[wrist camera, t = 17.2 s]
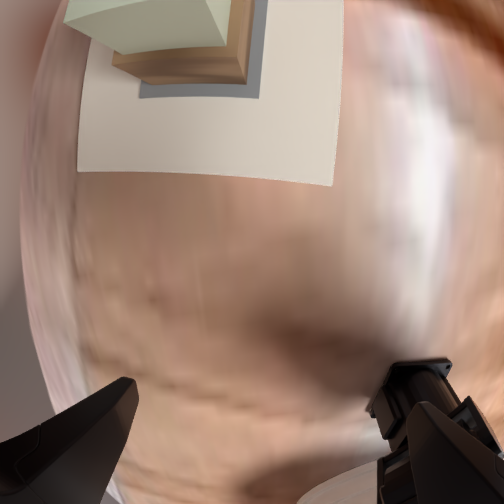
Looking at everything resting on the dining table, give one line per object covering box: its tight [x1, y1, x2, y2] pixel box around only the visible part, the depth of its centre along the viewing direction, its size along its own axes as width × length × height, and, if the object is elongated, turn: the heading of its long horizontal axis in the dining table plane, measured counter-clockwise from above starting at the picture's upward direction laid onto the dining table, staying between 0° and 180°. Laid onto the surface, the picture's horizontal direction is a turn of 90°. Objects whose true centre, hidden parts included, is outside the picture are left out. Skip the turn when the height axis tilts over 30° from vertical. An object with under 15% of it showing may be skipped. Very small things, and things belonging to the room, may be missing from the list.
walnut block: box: [111, 0, 255, 85], centre depth 11 cm, size 6×6×5 cm
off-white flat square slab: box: [77, 0, 344, 186], centre depth 14 cm, size 16×16×1 cm
